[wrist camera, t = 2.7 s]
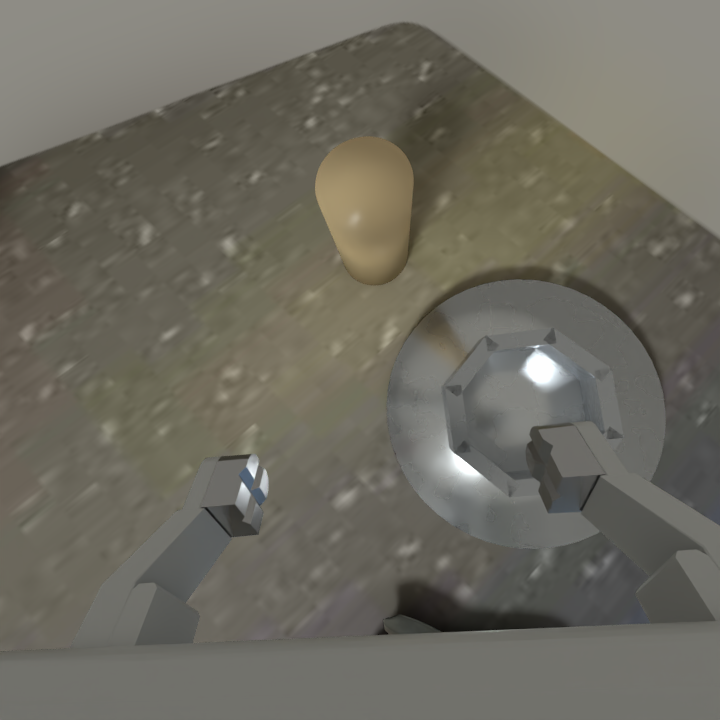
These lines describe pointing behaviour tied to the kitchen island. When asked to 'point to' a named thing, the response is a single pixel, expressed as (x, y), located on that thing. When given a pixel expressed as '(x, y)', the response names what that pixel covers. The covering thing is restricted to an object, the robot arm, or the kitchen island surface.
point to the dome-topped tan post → (368, 206)
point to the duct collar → (516, 404)
